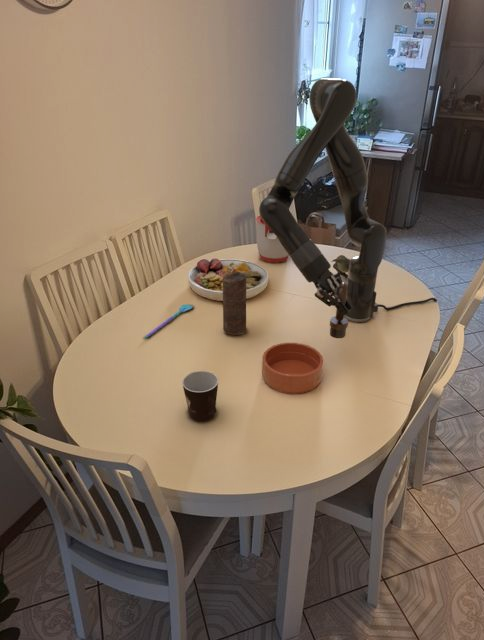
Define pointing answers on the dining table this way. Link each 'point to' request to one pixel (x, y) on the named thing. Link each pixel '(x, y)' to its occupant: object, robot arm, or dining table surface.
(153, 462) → the dining table surface
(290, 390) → the basin
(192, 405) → the coffee mug
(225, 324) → the candle
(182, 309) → the spoon
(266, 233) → the citrus juicer
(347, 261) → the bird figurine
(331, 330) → the tamper
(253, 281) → the bowl
